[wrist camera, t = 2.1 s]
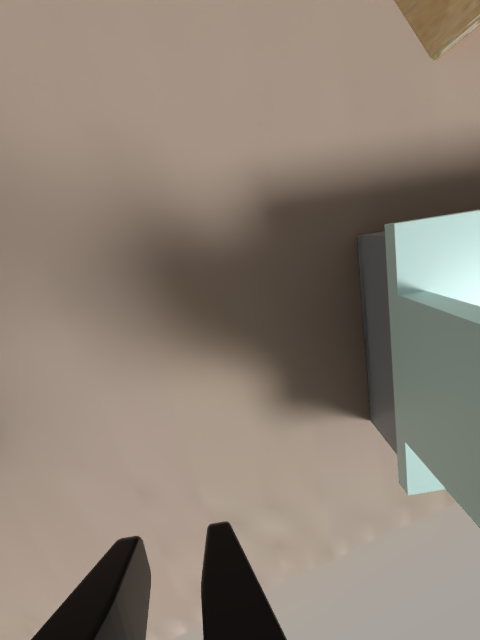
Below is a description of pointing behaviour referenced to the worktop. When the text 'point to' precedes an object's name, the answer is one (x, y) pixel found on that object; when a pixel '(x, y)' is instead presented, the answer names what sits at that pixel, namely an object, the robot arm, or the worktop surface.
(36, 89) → the worktop surface
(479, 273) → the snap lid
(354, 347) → the worktop surface
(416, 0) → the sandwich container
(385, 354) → the parts tub
